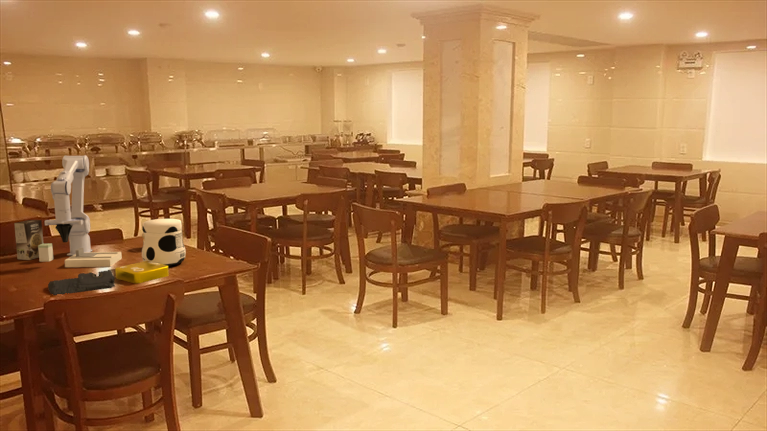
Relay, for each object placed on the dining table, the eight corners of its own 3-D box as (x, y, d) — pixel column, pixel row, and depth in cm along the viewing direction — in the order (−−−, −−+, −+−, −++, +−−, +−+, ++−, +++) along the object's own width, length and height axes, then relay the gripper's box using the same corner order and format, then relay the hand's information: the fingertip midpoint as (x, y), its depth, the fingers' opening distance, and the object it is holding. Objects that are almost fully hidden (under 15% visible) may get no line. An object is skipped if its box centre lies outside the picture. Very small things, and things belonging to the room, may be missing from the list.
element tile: (171, 276, 243) (170, 264, 242) (137, 285, 231) (136, 272, 230) (147, 270, 251) (146, 259, 250) (113, 278, 239) (112, 266, 238)
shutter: (81, 254, 264) (80, 247, 264) (97, 254, 265) (96, 247, 264) (75, 257, 258) (74, 250, 258) (91, 257, 259) (90, 250, 258)
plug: (43, 259, 268) (42, 243, 267) (53, 259, 268) (52, 243, 267) (39, 261, 264) (38, 245, 263) (49, 261, 265) (47, 245, 263)
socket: (78, 259, 268) (78, 251, 268) (121, 258, 270) (121, 250, 269) (65, 267, 255) (64, 259, 254) (110, 266, 256) (109, 258, 255)
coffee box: (29, 260, 266) (26, 223, 264) (17, 259, 268) (13, 222, 265) (45, 255, 275) (42, 219, 273) (32, 254, 277) (29, 219, 274)
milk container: (140, 261, 264) (137, 220, 261) (182, 257, 272) (180, 217, 269) (145, 271, 249) (142, 227, 246) (189, 266, 257) (187, 223, 254)
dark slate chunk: (47, 286, 228) (45, 274, 227) (111, 278, 239) (110, 266, 239) (49, 297, 215) (48, 284, 214) (117, 288, 226) (116, 275, 226)
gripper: (40, 211, 253) (43, 244, 255) (76, 211, 254) (79, 243, 256) (47, 208, 260) (50, 240, 262) (83, 208, 261) (86, 240, 263)
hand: (65, 241), depth 260 cm, fingers closed
